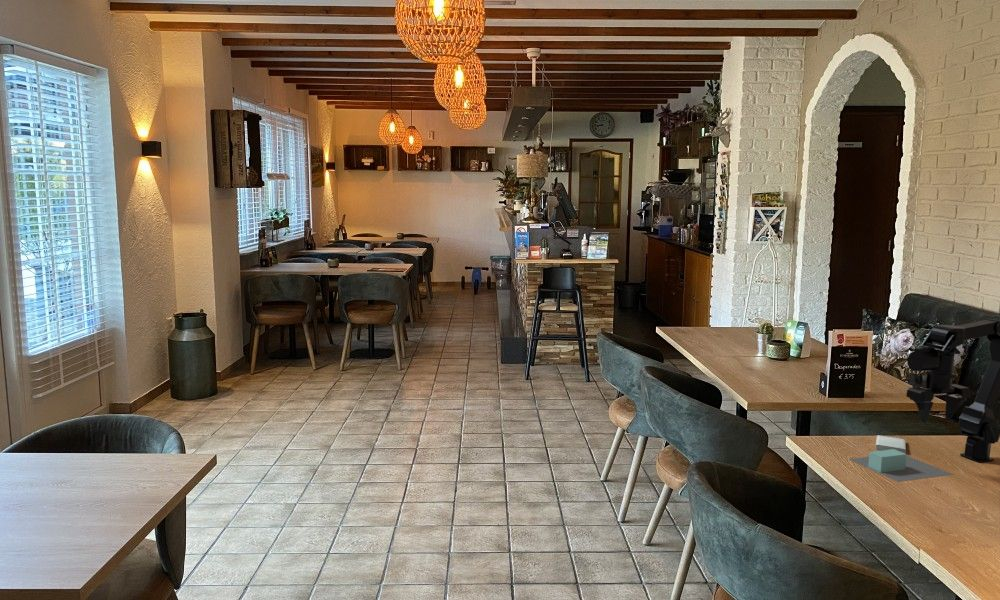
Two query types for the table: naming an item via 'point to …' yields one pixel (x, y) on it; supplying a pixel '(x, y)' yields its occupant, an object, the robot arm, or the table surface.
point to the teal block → (887, 460)
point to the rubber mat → (907, 470)
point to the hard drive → (890, 443)
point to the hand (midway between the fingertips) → (935, 421)
